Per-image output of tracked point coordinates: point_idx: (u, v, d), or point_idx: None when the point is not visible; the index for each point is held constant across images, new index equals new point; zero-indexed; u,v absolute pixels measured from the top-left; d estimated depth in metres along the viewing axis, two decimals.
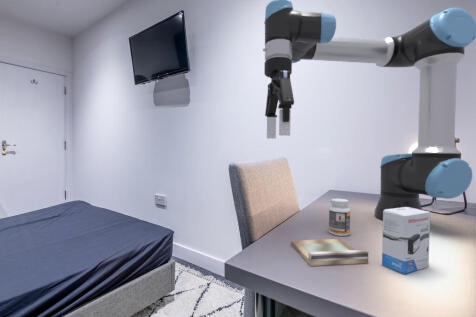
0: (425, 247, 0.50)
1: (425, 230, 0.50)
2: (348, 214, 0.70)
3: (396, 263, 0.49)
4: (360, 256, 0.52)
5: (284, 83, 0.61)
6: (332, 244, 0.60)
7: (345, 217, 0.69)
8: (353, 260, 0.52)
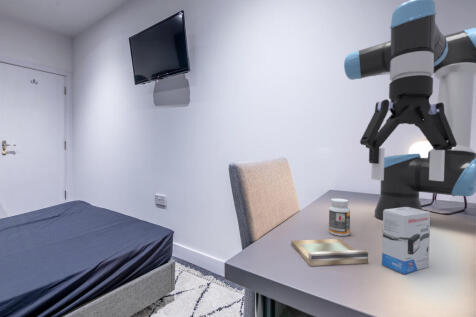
0: (425, 247, 0.50)
1: (425, 230, 0.50)
2: (348, 214, 0.70)
3: (396, 263, 0.49)
4: (360, 256, 0.52)
5: (374, 117, 0.51)
6: (332, 244, 0.60)
7: (345, 217, 0.69)
8: (353, 260, 0.52)
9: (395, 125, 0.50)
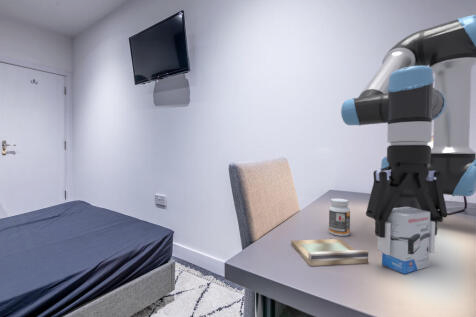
0: (425, 247, 0.50)
1: (425, 230, 0.50)
2: (348, 214, 0.70)
3: (397, 263, 0.49)
4: (360, 256, 0.52)
5: (374, 188, 0.51)
6: (332, 244, 0.60)
7: (345, 217, 0.69)
8: (353, 260, 0.52)
9: (397, 196, 0.50)
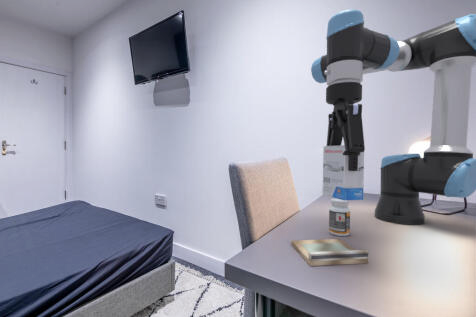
0: None
1: None
2: (348, 214, 0.70)
3: (358, 192, 0.52)
4: (360, 256, 0.52)
5: (353, 122, 0.49)
6: (332, 244, 0.60)
7: (345, 217, 0.69)
8: (353, 260, 0.52)
9: None
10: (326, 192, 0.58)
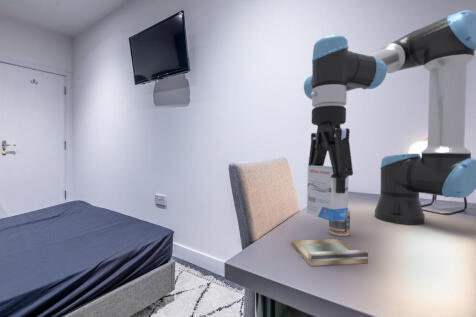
0: None
1: None
2: (348, 214, 0.70)
3: (343, 212, 0.54)
4: (360, 256, 0.52)
5: (342, 146, 0.50)
6: (332, 244, 0.60)
7: None
8: (353, 260, 0.52)
9: None
10: (311, 211, 0.59)
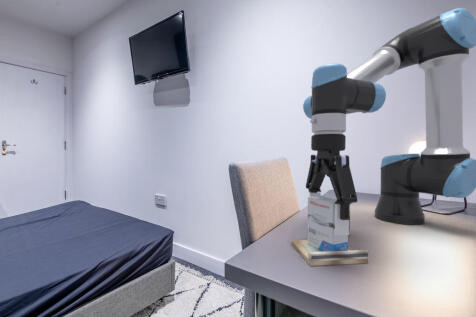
0: None
1: None
2: None
3: (343, 247, 0.54)
4: (360, 256, 0.52)
5: (343, 172, 0.50)
6: None
7: None
8: (353, 260, 0.52)
9: None
10: (311, 242, 0.59)
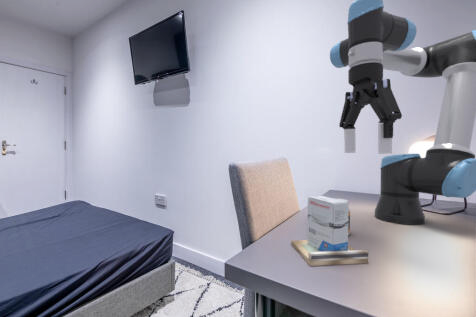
0: None
1: None
2: (348, 214, 0.70)
3: (343, 247, 0.54)
4: (360, 256, 0.52)
5: (385, 93, 0.52)
6: None
7: None
8: (353, 260, 0.52)
9: None
10: (311, 242, 0.59)
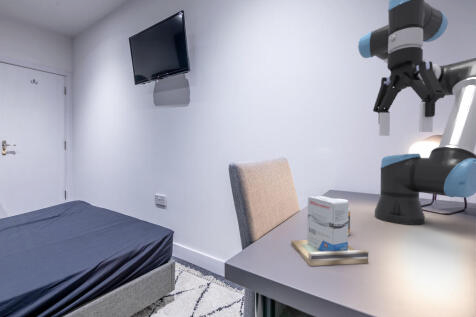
0: None
1: None
2: (348, 214, 0.70)
3: (343, 247, 0.54)
4: (360, 256, 0.52)
5: (428, 74, 0.56)
6: None
7: None
8: (353, 260, 0.52)
9: None
10: (311, 242, 0.59)
